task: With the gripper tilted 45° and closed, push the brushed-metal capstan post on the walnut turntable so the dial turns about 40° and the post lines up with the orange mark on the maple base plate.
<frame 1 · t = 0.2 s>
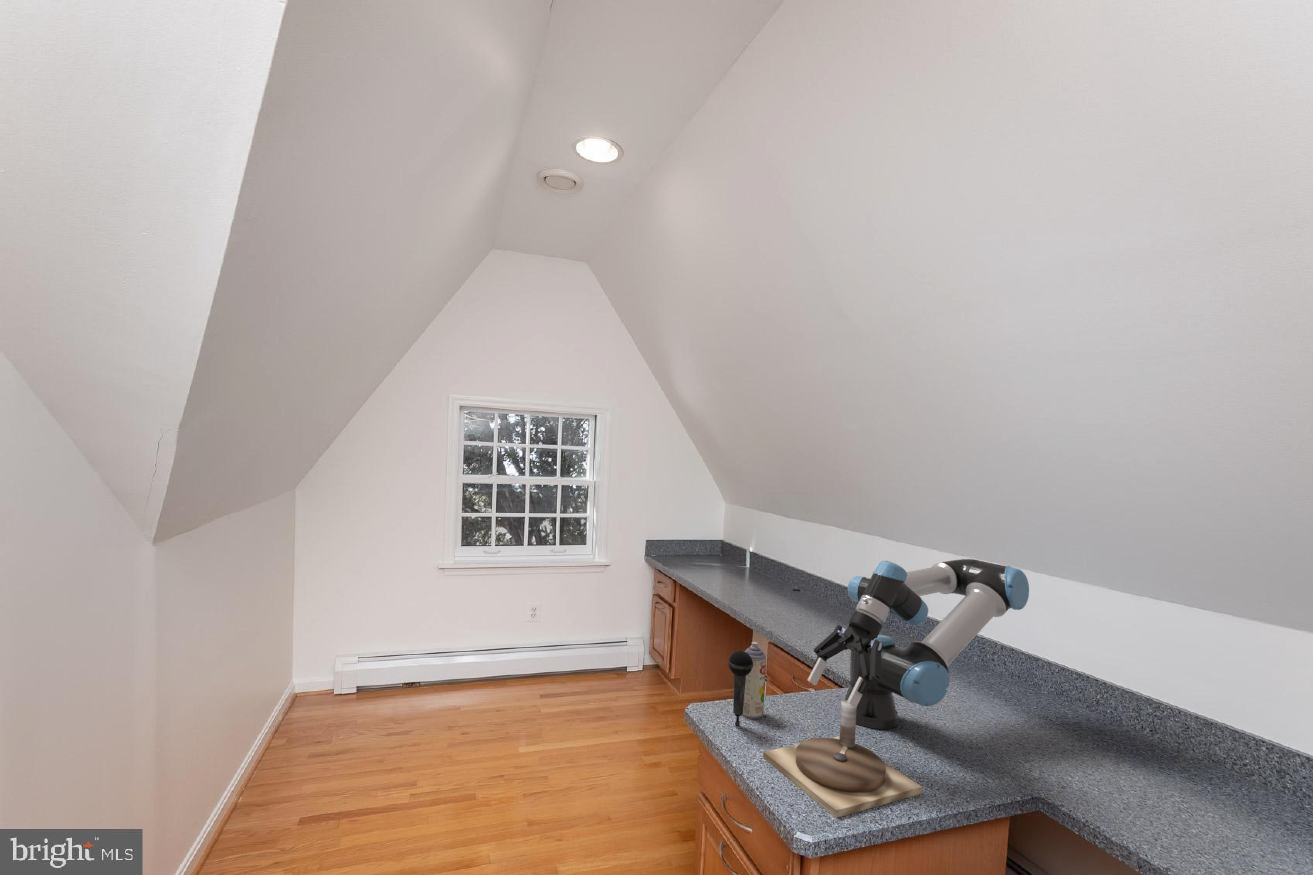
hand: (830, 693, 146), 16 cm above the worktop, tool tilted 35°, fingers open, 13 cm apart
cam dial: (840, 741, 138), point 8 cm above the worktop, hinge at 0.0°
aerosol can: (751, 714, 168), on the worktop
microphone: (737, 726, 160), on the worktop
stand plate: (839, 774, 138), on the worktop
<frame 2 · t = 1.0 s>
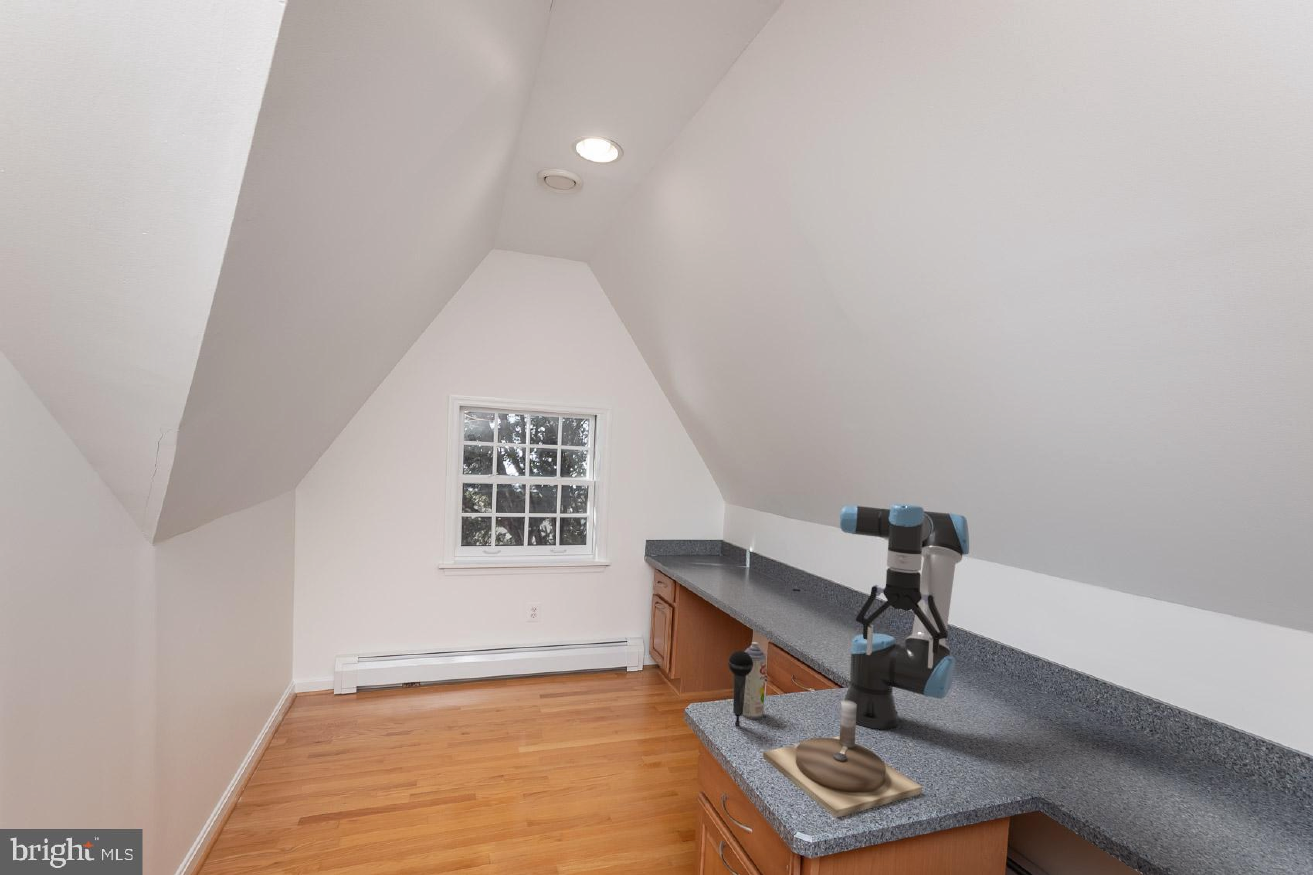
hand: (898, 660, 140), 27 cm above the worktop, tool pointing down, fingers open, 13 cm apart
nothing on the worktop moved.
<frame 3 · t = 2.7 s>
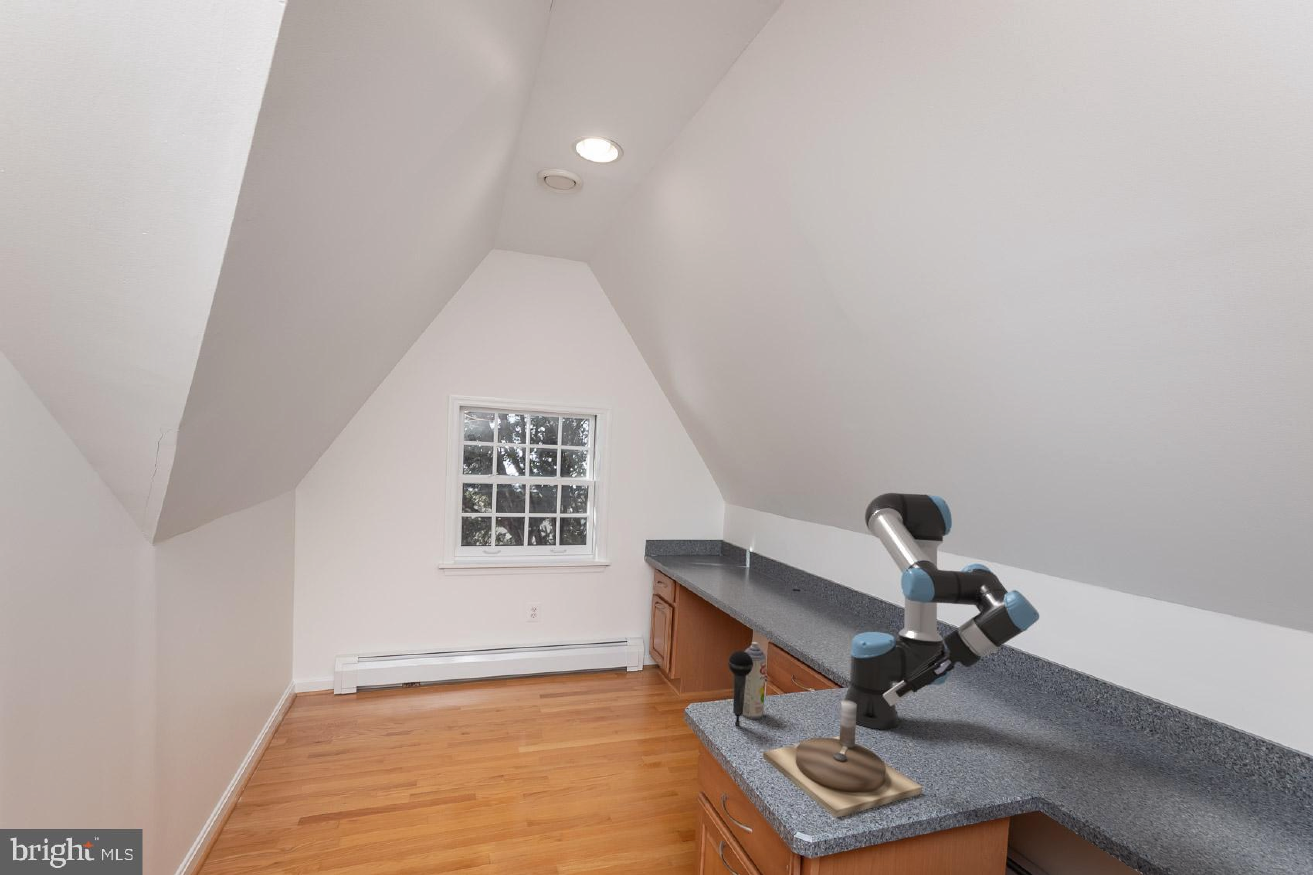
hand: (887, 700, 140), 17 cm above the worktop, tool tilted 45°, fingers closed
nothing on the worktop moved.
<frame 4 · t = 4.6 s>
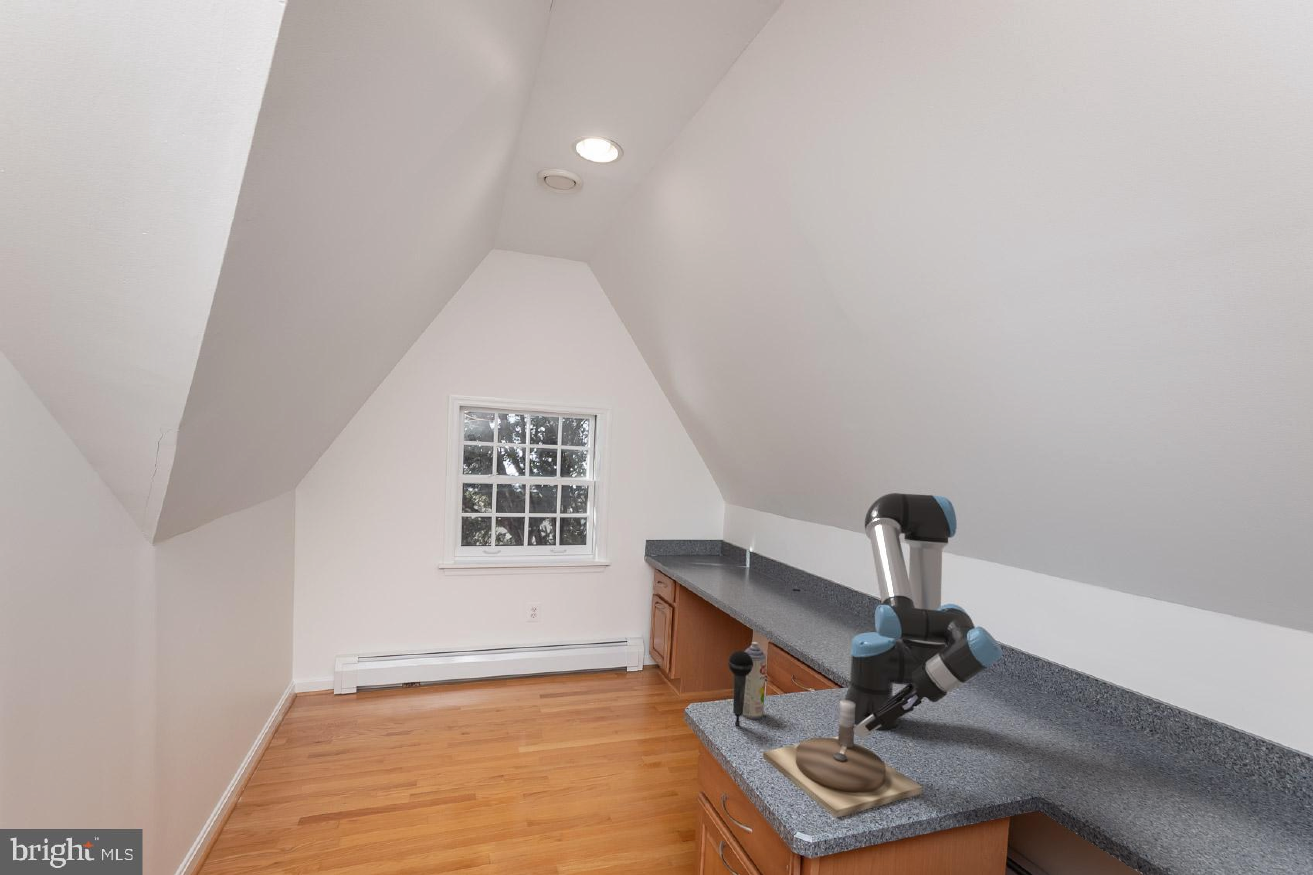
hand: (857, 733, 143), 8 cm above the worktop, tool tilted 45°, fingers closed
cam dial: (840, 741, 138), point 8 cm above the worktop, hinge at 2.1°, touching gripper
everything else where it was.
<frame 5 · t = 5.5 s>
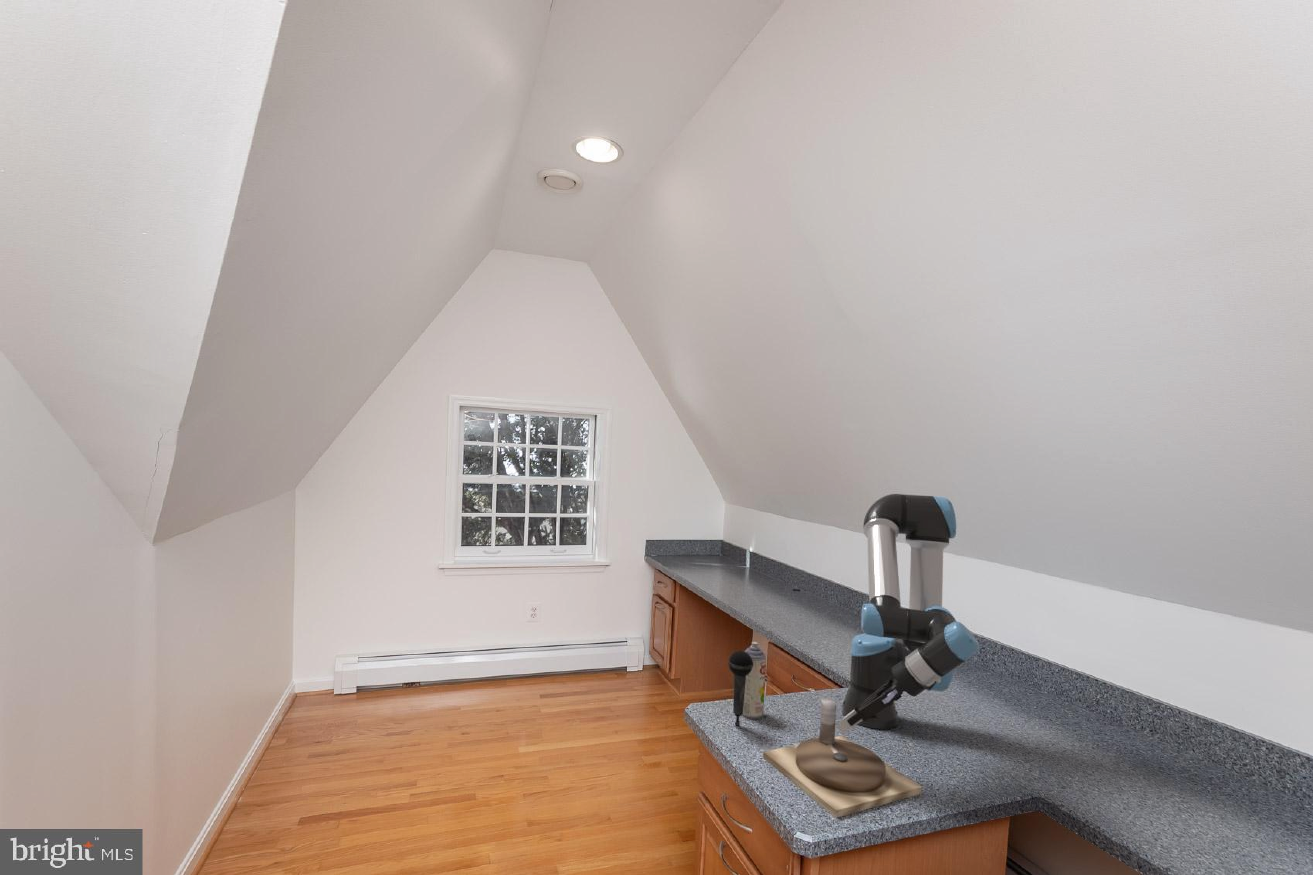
hand: (839, 728, 145), 8 cm above the worktop, tool tilted 45°, fingers closed
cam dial: (840, 741, 138), point 8 cm above the worktop, hinge at 34.8°, touching gripper
everything else where it was.
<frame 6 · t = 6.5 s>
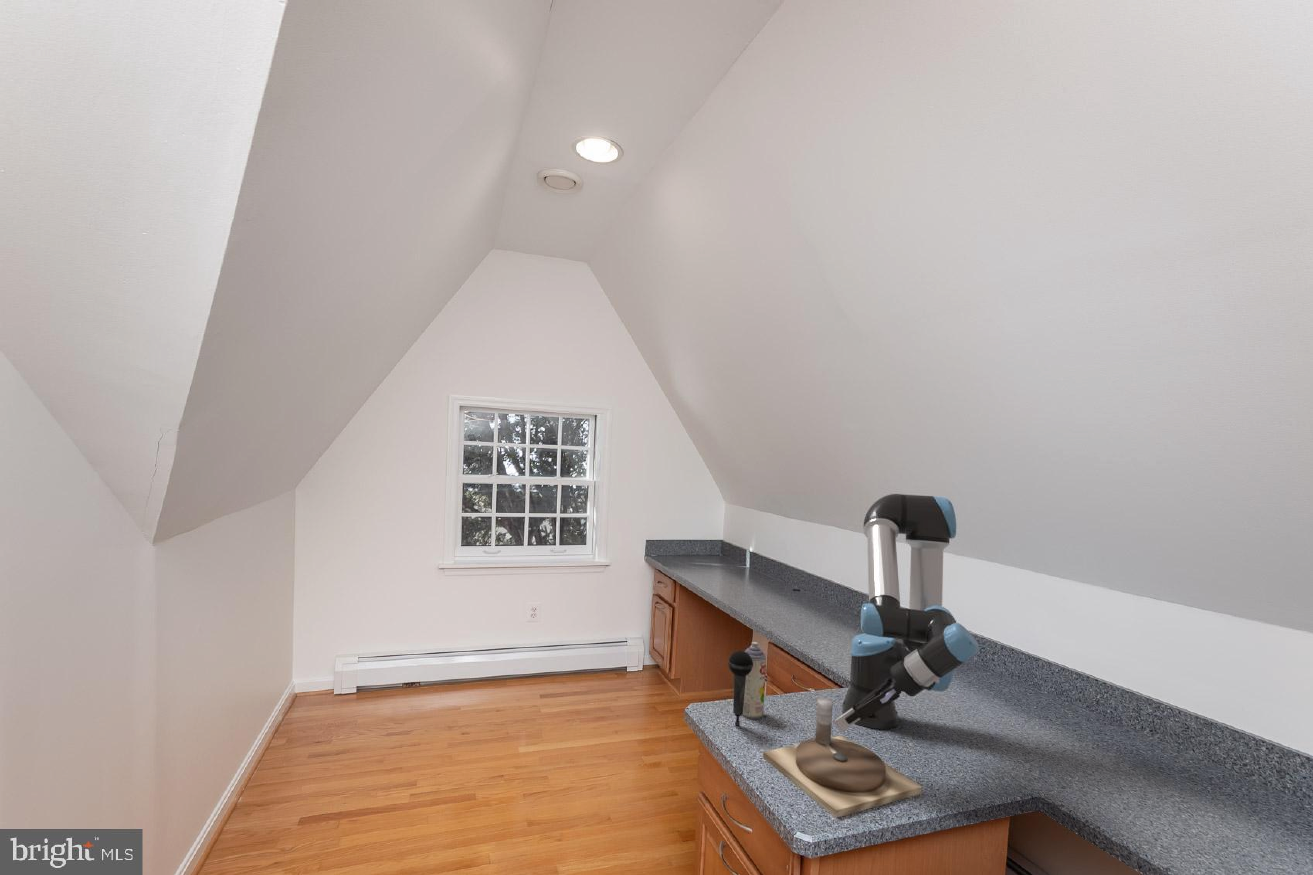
hand: (837, 726, 145), 8 cm above the worktop, tool tilted 45°, fingers closed
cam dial: (840, 741, 138), point 8 cm above the worktop, hinge at 41.9°
everything else where it was.
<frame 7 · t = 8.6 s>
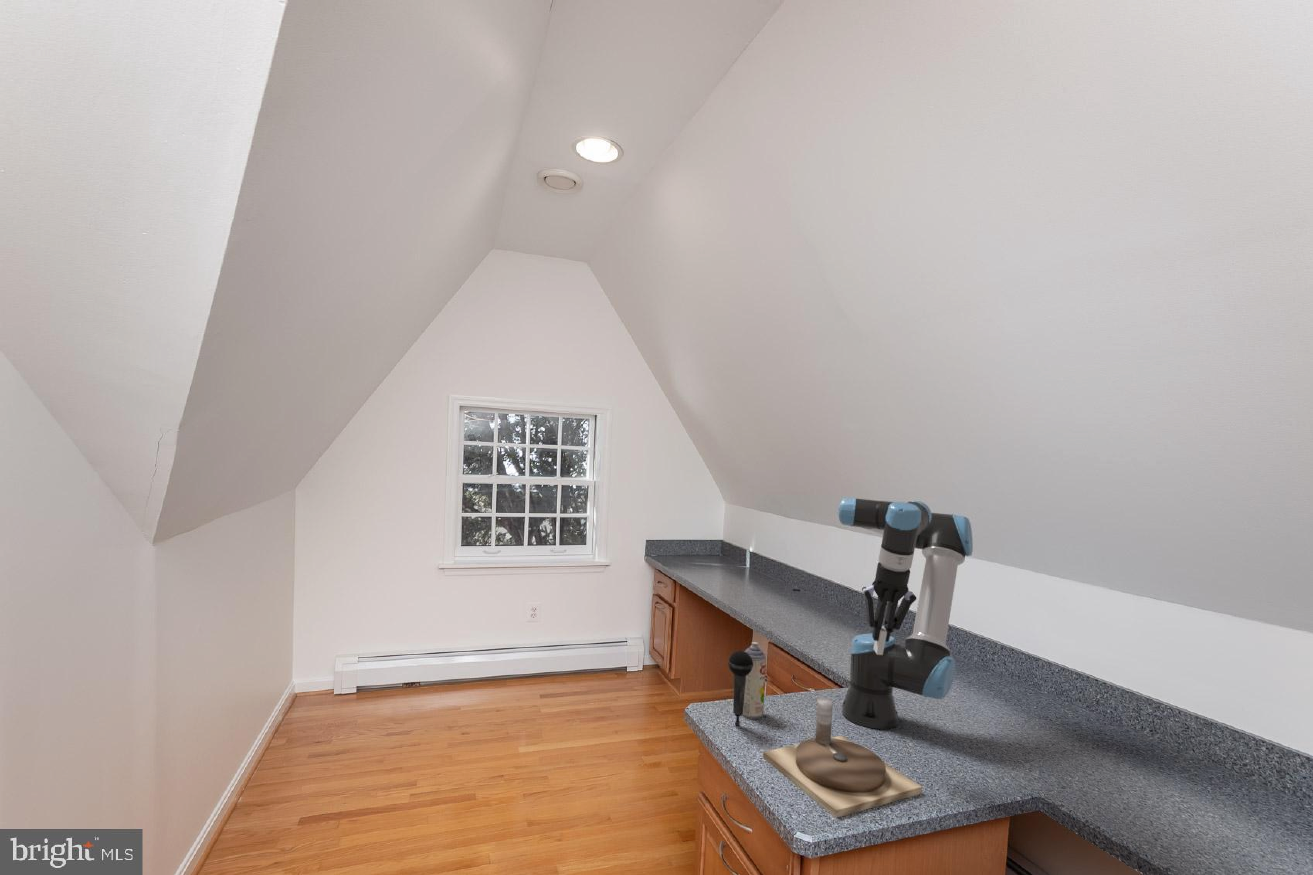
hand: (878, 651, 150), 26 cm above the worktop, tool pointing down, fingers closed
nothing on the worktop moved.
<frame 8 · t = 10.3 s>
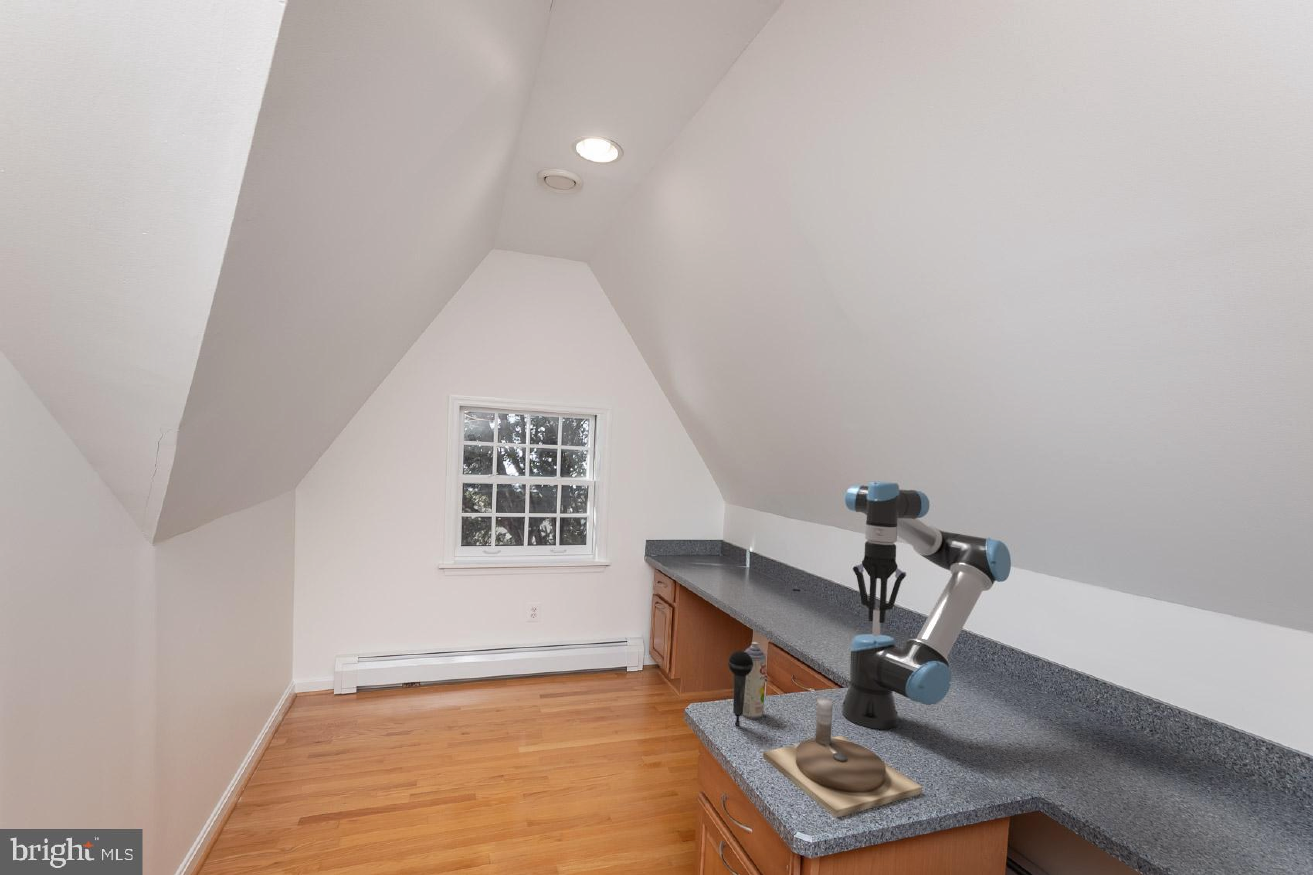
hand: (876, 634, 151), 29 cm above the worktop, tool pointing down, fingers closed
nothing on the worktop moved.
at the end: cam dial at +42° (first picture: +0°); microphone moved 0.2 cm from its start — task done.
